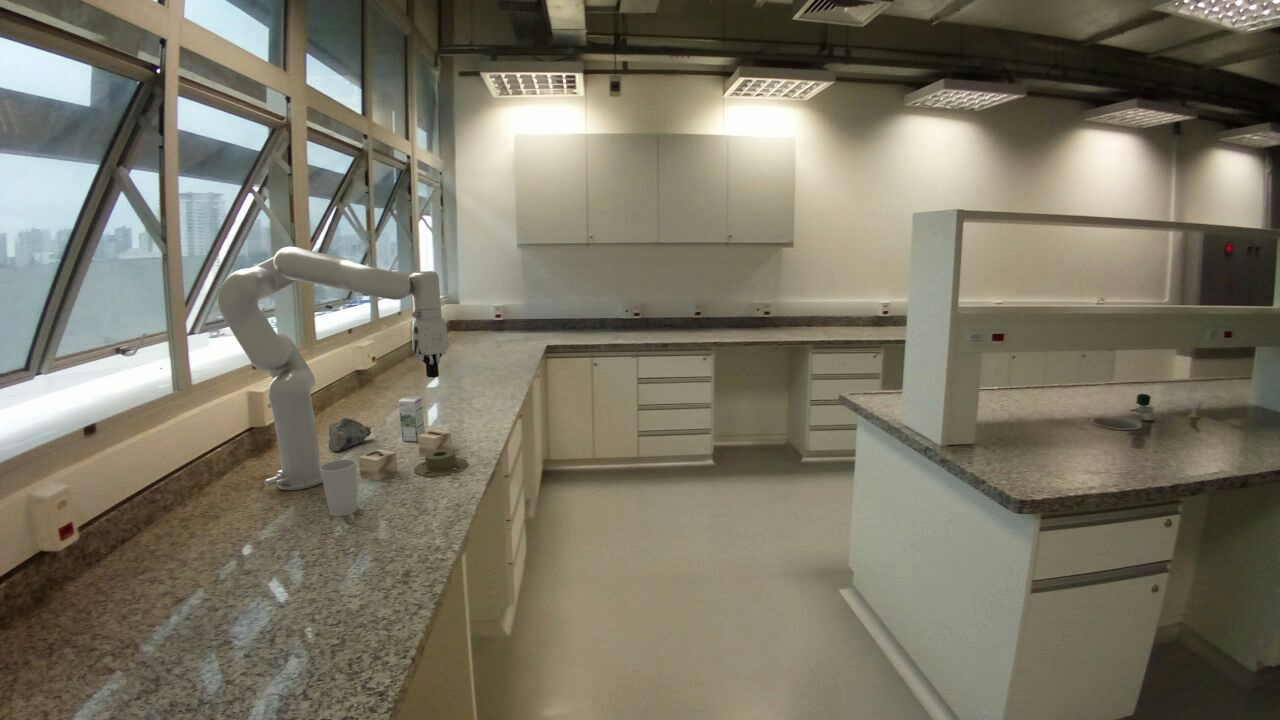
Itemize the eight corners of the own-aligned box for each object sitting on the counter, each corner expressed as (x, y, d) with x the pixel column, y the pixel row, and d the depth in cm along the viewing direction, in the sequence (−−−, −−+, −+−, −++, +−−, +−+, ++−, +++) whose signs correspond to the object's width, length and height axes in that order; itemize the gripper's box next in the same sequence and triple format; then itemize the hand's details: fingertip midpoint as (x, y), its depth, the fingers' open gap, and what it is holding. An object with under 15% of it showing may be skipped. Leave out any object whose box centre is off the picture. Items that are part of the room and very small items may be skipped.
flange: (476, 448, 178) (435, 443, 183) (444, 465, 164) (401, 460, 169) (477, 462, 178) (437, 457, 183) (446, 481, 165) (403, 475, 170)
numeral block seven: (378, 480, 165) (376, 459, 164) (360, 476, 168) (358, 456, 167) (398, 471, 172) (395, 451, 170) (380, 468, 174) (378, 448, 173)
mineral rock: (372, 438, 202) (368, 410, 200) (373, 447, 193) (370, 418, 191) (329, 444, 197) (326, 415, 195) (329, 454, 187) (325, 424, 185)
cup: (366, 503, 150) (361, 458, 148) (352, 517, 142) (347, 470, 140) (334, 504, 150) (329, 459, 148) (319, 518, 142) (313, 471, 140)
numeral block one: (435, 456, 183) (434, 437, 182) (419, 453, 187) (417, 434, 185) (452, 449, 190) (450, 431, 188) (436, 446, 193) (434, 428, 191)
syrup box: (426, 436, 203) (422, 396, 200) (418, 442, 197) (414, 400, 194) (410, 436, 203) (406, 395, 201) (401, 442, 198) (397, 400, 195)
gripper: (417, 318, 161) (422, 383, 165) (456, 312, 174) (460, 372, 178) (397, 317, 164) (403, 381, 168) (437, 311, 178) (441, 370, 181)
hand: (432, 376), depth 173 cm, fingers closed
